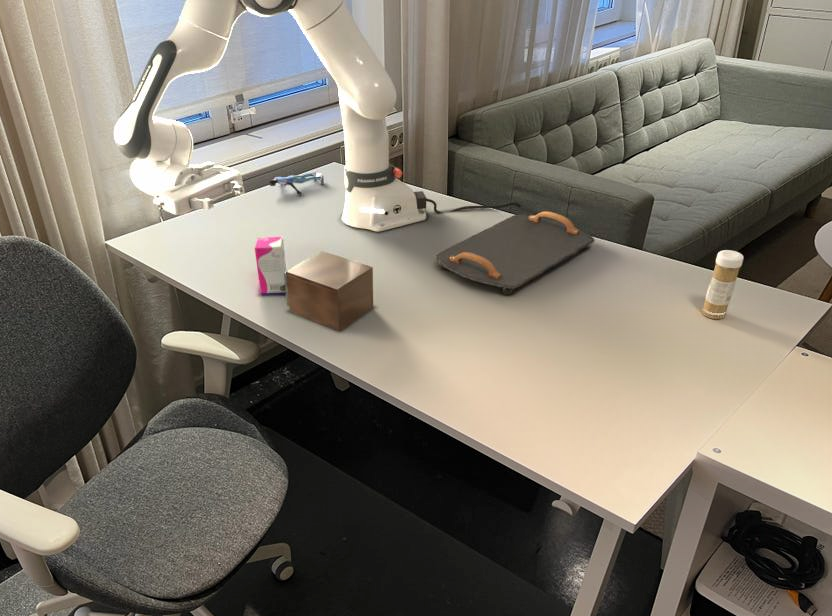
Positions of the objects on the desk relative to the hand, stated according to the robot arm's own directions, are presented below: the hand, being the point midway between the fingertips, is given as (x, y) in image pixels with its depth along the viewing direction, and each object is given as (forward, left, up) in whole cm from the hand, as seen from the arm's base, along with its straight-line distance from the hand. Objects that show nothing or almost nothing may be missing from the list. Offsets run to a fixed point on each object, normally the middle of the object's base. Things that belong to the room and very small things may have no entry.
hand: (226, 198), depth 155 cm
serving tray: (-64, +15, -19) cm, 68 cm away
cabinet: (-16, +23, -19) cm, 34 cm away
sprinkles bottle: (-89, +52, -19) cm, 105 cm away
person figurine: (-26, -48, -19) cm, 57 cm away
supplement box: (-7, +10, -19) cm, 22 cm away
